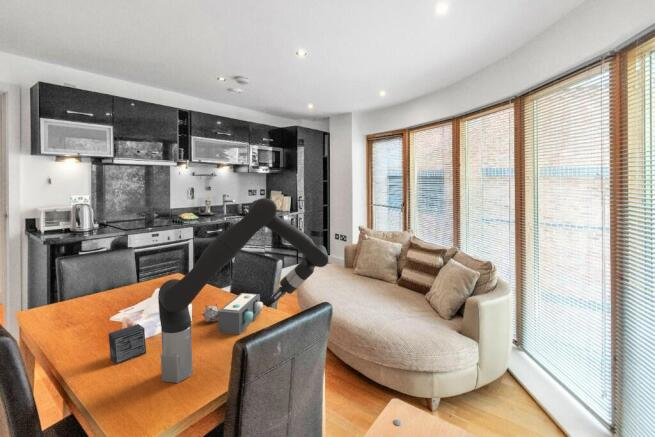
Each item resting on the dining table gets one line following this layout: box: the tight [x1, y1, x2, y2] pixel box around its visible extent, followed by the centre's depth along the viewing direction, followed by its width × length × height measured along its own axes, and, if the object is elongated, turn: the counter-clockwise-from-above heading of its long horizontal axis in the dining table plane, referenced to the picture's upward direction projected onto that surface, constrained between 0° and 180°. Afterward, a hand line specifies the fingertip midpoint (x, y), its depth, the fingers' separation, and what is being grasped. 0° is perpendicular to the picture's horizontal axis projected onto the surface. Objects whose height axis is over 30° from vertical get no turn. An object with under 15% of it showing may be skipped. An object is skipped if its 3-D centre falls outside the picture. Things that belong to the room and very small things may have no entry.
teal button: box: [243, 311, 253, 323], centre depth 144 cm, size 4×3×4 cm
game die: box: [201, 303, 219, 324], centre depth 152 cm, size 9×8×10 cm
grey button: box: [254, 301, 264, 312], centre depth 156 cm, size 4×3×4 cm
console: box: [217, 292, 261, 336], centre depth 151 cm, size 24×10×11 cm, turn 170°
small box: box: [108, 323, 147, 365], centre depth 121 cm, size 11×6×10 cm, turn 141°
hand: (266, 305), depth 142 cm, fingers closed
